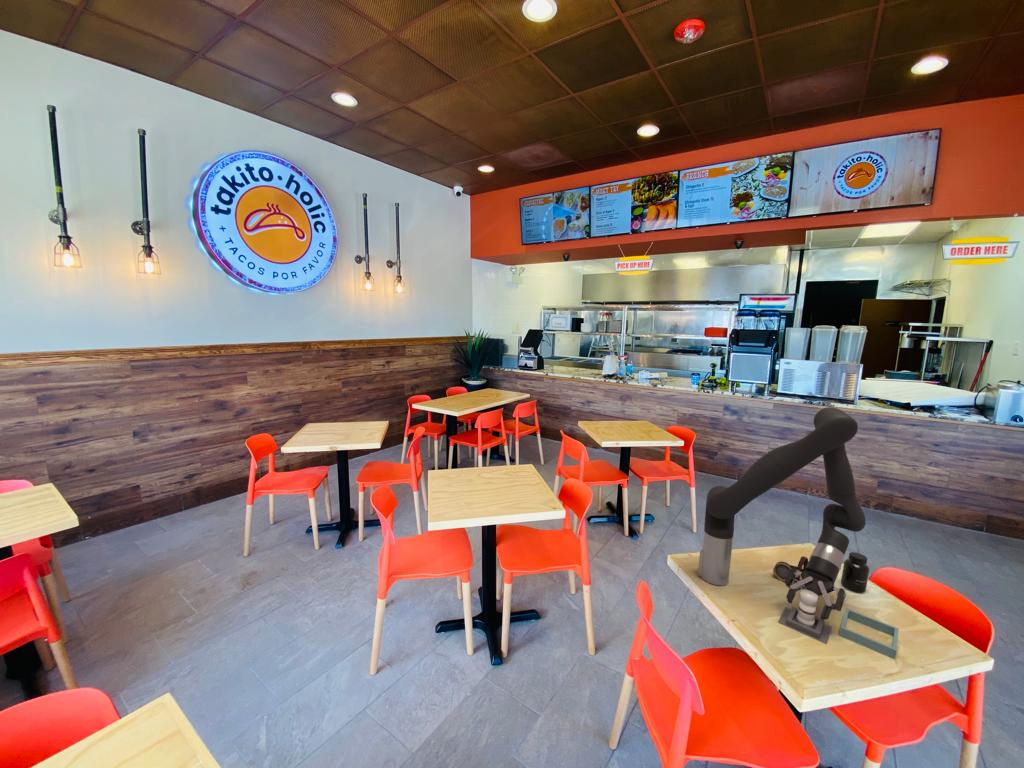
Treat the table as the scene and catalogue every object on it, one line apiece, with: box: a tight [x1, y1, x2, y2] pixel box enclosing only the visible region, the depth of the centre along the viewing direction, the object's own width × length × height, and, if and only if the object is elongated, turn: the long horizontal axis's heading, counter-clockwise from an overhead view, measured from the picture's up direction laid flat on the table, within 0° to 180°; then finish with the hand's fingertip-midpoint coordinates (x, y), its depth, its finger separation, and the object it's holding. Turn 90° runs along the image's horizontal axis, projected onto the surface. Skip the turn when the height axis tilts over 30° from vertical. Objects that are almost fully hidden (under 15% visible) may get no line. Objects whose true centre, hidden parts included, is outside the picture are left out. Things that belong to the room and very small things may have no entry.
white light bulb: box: [796, 589, 819, 629], centre depth 124 cm, size 4×4×10 cm
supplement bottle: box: [840, 551, 870, 594], centre depth 144 cm, size 7×7×12 cm
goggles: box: [772, 556, 809, 590], centre depth 148 cm, size 15×13×10 cm
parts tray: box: [839, 608, 900, 660], centre depth 121 cm, size 12×12×4 cm
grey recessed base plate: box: [777, 606, 833, 645], centre depth 125 cm, size 12×10×2 cm
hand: (805, 610), depth 123 cm, fingers open, 8 cm apart
